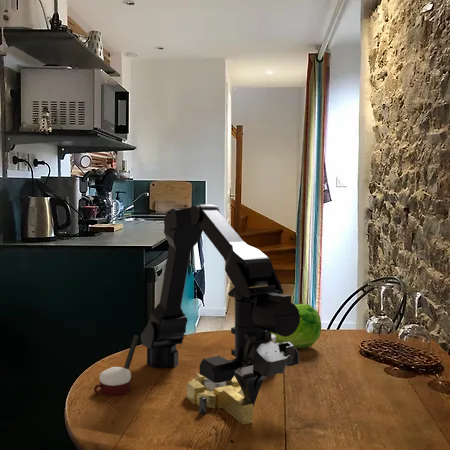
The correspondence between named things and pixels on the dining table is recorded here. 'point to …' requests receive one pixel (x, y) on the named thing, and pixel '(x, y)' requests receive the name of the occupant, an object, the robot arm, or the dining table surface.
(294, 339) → the lettuce
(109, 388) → the cocoa
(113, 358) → the dining table surface
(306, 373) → the dining table surface
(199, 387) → the wooden ring wrench
